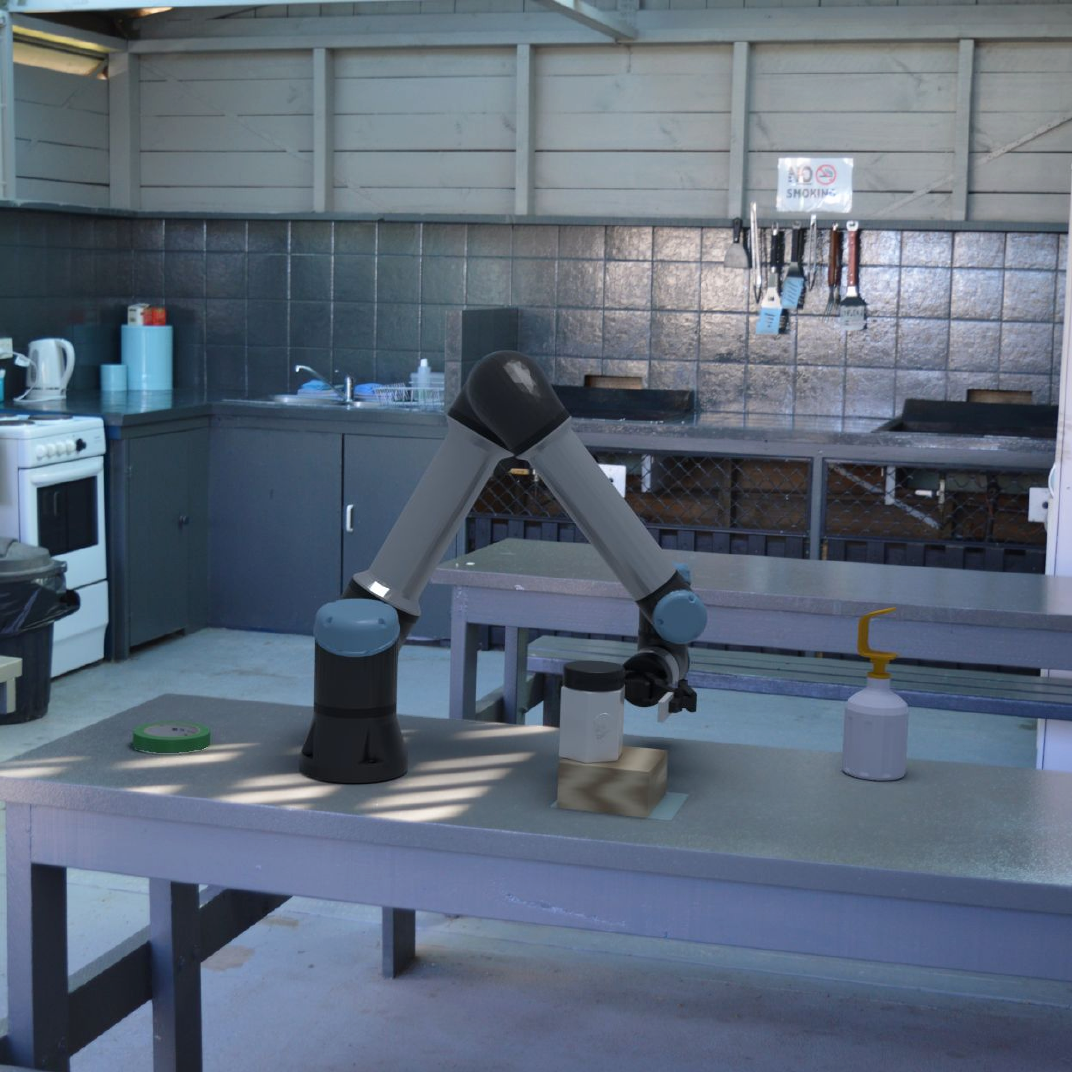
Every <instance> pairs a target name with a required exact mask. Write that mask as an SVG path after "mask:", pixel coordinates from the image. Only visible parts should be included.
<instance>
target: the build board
mask: <svg viewBox="0 0 1072 1072" xmlns="http://www.w3.org/2000/svg"><path fill="white" fill-rule="evenodd" d="M689 795H690V794H689V793H684V792H683V793H682V792H672V791H666V794H665V796H664V797H663V798H662V800H661V801H660V802H659V804H658V805H657V806H656V807H655V809H654V810H653V811H652V813H651V814H650V815H649V817H648V818H647V819H649V820H656V821H657V820H658V821H668V822H671V821H672V820H673V819H674V817H675V815H676V814H677V813H678V811H679V809H681V807H682V806H683V804H684V803H685V801H686V800H687V798H688V797H689ZM549 808H554V809H558V808H557V799H556V800H555V801H554V802H553V803H552V804H551V805H550V806H549ZM561 809H563V810H567V809H566V808H561ZM570 810H573V811H575V810H574V809H570ZM578 811H582V812H584V811H583V810H578ZM588 812H590V813H592V812H591V811H587V813H588ZM596 813H598V814H601V813H600V812H596ZM604 814H606V815H609V814H608V813H604ZM613 815H614V816H618V815H617V814H613ZM621 816H623V817H627V816H626V815H621ZM630 817H632V818H635V817H634V816H630ZM638 818H641V819H644V818H643V817H638Z"/></svg>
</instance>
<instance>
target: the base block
mask: <svg viewBox="0 0 1072 1072" xmlns="http://www.w3.org/2000/svg"><path fill="white" fill-rule="evenodd" d="M668 752H669V750H667V749H659V748H657V749H656V748H648V747H637V746H627V745H623V747H622V754H621V755H620V757H619V759H618V761H616V762H599V763H583V762H579V761H575V760H571V759H567V758H563V757H562V759H560V761H558V766H557V767H558V771H557V772H558V773H557V797H556V800H557V808H556V809H562V808H566V809H565V810H571V809H574V810H573V811H579V810H583V811H582V812H588V811H591V812H590V813H597V812H600V813H599V814H605V813H608V814H607V815H614V814H617V815H616V816H622V815H626V816H625V817H631V816H634V817H633V818H639V817H643V818H642V819H648V817H649V815H650V814H651V813H652V811H653V810H654V809H655V807H656V806H657V805H658V804H659V802H660V801H661V800H662V798H663V797H664V796H665V794H666V792H667V780H668V779H667V776H668V758H669V757H668V754H669V753H668Z"/></svg>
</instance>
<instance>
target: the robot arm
mask: <svg viewBox="0 0 1072 1072" xmlns="http://www.w3.org/2000/svg"><path fill="white" fill-rule="evenodd" d="M445 418H446V421H447V426H448V433H447V434H446V436H445V438H444V439H443V441H442V443H441V445H440V446H439V447H438V450H437V451H436V453H435V454H434V456H433V459H432V460H431V462H430V463H429V465H428V466H427V468H426V470H425V471H424V473H423V475H422V477H421V479H420V480H419V483H417V486H416V487H415V489H414V491H413V493H411V496H410V498H409V499H408V501H407V502H406V504H405V506H404V508H403V509H402V510H401V513H400V515H399V516H398V518H397V520H396V521H395V523H394V525H393V527H392V528H391V531H390V532H389V534H388V535H387V537H386V538H385V541H384V543H382V546H381V548H380V549H379V551H378V552H377V555H376V556H375V558H374V560H373V561H372V562H371V564H370V567H369V568H368V569H367V570H364V571H361V572H357V573H354V574H353V575H352V577H351V578H350V580H349V583H348V584H347V585H346V587H345V589H344V591H343V592H342V594H341V596H340V597H339V599H338V600H337V599H336V600H334V601H333V602H327V603H326V604H323V605H322V606H321V607H320V608H319V609H318V610H317V611H316V614H315V621H314V625H313V635H314V661H313V663H314V665H313V667H314V671H313V709H312V710H313V712H312V713H313V715H312V718H311V721H310V725H309V727H308V730H307V734H306V736H305V738H304V739H305V740H304V742H303V745H302V748H301V750H300V753H299V771H300V772H301V774H303V775H305V776H306V777H309V778H312V779H315V780H318V781H324V782H330V783H342V784H363V783H364V784H365V783H376V782H383V781H388V780H393V779H396V778H399V777H401V776H403V775H405V774H406V773H407V771H408V769H409V768H408V765H409V762H408V761H409V755H408V750H407V748H406V743H405V740H404V737H403V734H402V731H401V727H400V724H399V720H398V717H397V716H398V715H397V708H398V707H397V704H398V703H397V702H398V667H399V666H398V664H399V654H400V651H401V649H402V647H403V646H404V644H405V642H406V640H407V638H408V637H409V635H410V634H411V632H412V630H413V628H414V626H415V625H416V623H417V622H418V620H419V619H420V616H421V615H422V610H421V606H420V604H419V600H420V599H419V598H420V596H421V595H422V593H423V591H424V589H425V588H426V586H427V585H428V583H429V581H430V580H431V578H432V576H433V575H434V572H435V571H436V569H437V568H438V566H439V564H440V563H441V560H442V559H443V558H444V555H445V554H446V553H447V551H448V549H449V547H450V545H451V544H452V542H453V540H454V538H455V537H456V535H457V533H458V532H459V530H460V528H461V526H462V525H463V523H464V521H465V519H466V518H467V516H468V514H469V513H470V511H471V509H472V508H473V506H474V505H475V502H476V501H477V499H478V498H479V496H480V495H481V492H482V490H483V489H484V488H485V485H486V484H487V483H488V481H489V479H490V477H491V475H492V473H493V472H494V471H495V469H496V467H497V465H498V463H499V462H500V461H501V460H504V459H508V458H511V457H515V458H516V460H517V459H518V460H523V461H527V462H528V463H529V465H530V466H531V467H532V469H533V470H534V472H536V474H537V475H538V476H539V478H540V479H541V480H542V482H543V483H544V484H545V486H546V487H547V488H548V490H549V491H550V492H551V493H552V494H553V496H554V498H555V499H556V500H557V501H558V503H559V504H560V505H561V507H562V508H563V509H564V511H565V512H566V513H567V514H568V516H569V517H570V518H571V520H572V521H573V522H574V524H575V526H577V528H578V529H579V530H580V531H581V533H582V534H583V535H584V536H585V538H586V540H587V541H588V542H589V544H590V545H591V546H592V547H593V548H594V550H595V551H596V552H597V554H598V555H599V556H600V558H601V559H602V560H603V561H604V563H605V564H606V565H607V567H608V568H609V570H610V571H611V572H612V573H613V575H614V576H615V577H616V579H617V580H618V582H620V584H621V585H622V586H623V588H624V589H625V590H626V592H627V593H628V594H629V596H630V597H631V598H632V599H633V601H634V602H635V604H636V605H637V607H638V631H637V647H636V649H637V652H635V653H634V654H633V655H631V657H630V658H628V659H627V660H626V661H625V662H624V663H623V664H622V666H623V667H624V668H625V679H624V680H625V681H624V685H625V697H624V700H625V701H627V703H629V704H631V705H632V706H635V707H638V708H650V707H651V708H652V707H654V706H656V705H657V721H656V722H657V723H664V722H665V721H667V719H668V718H669V717H670V716H671V715H672V714H677V713H680V712H683V709H685V710H686V711H687V712H689V713H696V712H697V709H698V708H697V707H698V693H697V692H696V691H695V690H694V688H692V687H691V686H690V685H689V680H688V679H686V677H687V674H689V672H690V669H691V664H692V656H691V655H692V654H691V652H690V650H689V648H688V644H689V643H692V642H694V641H695V640H697V639H698V638H700V636H701V635H702V634H703V633H704V631H705V629H706V627H707V623H708V612H707V608H706V604H705V603H704V601H703V600H702V599H701V597H700V596H699V595H698V594H697V593H695V591H694V590H693V589H692V588H691V585H692V581H691V569H690V567H689V565H688V564H686V563H684V562H679V561H671V559H670V558H669V557H668V556H667V554H666V553H665V552H664V550H663V549H662V547H661V546H660V545H659V544H658V542H657V541H656V540H655V538H654V537H653V535H652V534H651V532H649V530H648V529H647V528H646V525H644V523H643V522H642V521H641V519H640V518H639V517H638V516H637V514H636V513H635V511H634V510H633V509H632V507H630V505H629V503H627V501H626V500H625V498H624V497H623V496H622V494H621V493H620V491H619V490H618V489H617V487H616V486H615V485H614V484H613V482H612V480H611V479H610V478H609V477H608V475H607V474H606V473H605V471H604V470H603V469H602V468H601V466H600V465H599V464H598V462H597V461H596V460H595V458H594V456H593V455H592V454H591V453H590V452H589V451H588V449H587V448H586V446H585V445H584V444H583V442H582V441H581V439H579V437H578V436H577V434H576V433H575V431H574V430H573V429H572V427H571V425H572V415H571V414H570V413H569V411H568V410H567V409H566V407H565V406H564V405H563V403H562V402H561V400H560V398H559V397H558V395H557V394H556V391H555V390H554V389H553V386H552V384H551V383H550V381H549V378H548V377H547V375H546V373H545V371H544V369H543V367H542V366H541V365H540V364H539V363H538V362H537V361H536V360H535V359H534V358H532V357H531V356H530V355H527V354H525V353H524V352H521V351H517V350H509V349H508V350H507V349H506V350H505V349H504V350H503V349H502V350H498V351H494V352H491V353H489V354H487V355H485V356H482V357H481V359H479V360H478V361H476V363H475V364H474V365H473V367H472V368H471V369H470V371H469V373H468V375H467V377H466V381H465V383H464V385H463V386H462V388H461V389H460V390H459V393H458V395H457V396H456V398H455V400H454V402H453V403H452V405H451V407H450V408H449V410H448V412H447V414H446V416H445ZM562 686H563V679H561V680H558V693H557V694H558V696H557V697H558V698H557V699H559V700H561V687H562Z"/></svg>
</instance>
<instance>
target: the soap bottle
mask: <svg viewBox="0 0 1072 1072" xmlns="http://www.w3.org/2000/svg"><path fill="white" fill-rule="evenodd" d="M897 610H898V608H897V607H894V606H893V607H890V608H884V609H880V610H874V611H872V612H869V613H867V614H865V615H863V616H862V617H861V618H859V621H858V629H857V654H858V655H860V656H861V657H864V658H869V662H870V663H871V664H873V667H872V668H873V669H872V670H870V671H867V675H866V686H865V687H864V688H863V689H862V690H859V691H857V692H855V693H854V694H853V695H851V696H850V697H849V698H848V699H847V700H846V703H845V706H844V718H843V736H842V755H841V770H842V771H843V772H844V773H845V774H846V775H848V774H849V776H850V775H851V777H853V776H854V777H853V778H856V777H857V779H860V780H866V781H874V780H876V781H878V782H887V781H895V780H899V779H902V778H903V777H904V776H905V774H906V769H907V768H906V765H907V753H908V752H907V751H908V735H909V734H908V733H909V732H908V731H909V717H910V709H909V705H908V704H907V702H906V701H905V700H903V698H902V697H901V696H899V695H898V694H897V693H895V692H894V691H892V689H891V673H890V672H887V671H886V665H888V664H890V660H891V661H893V660H895V659H897V658H898V657H899V653H898V652H891V651H890V652H889V651H883V650H875V649H871V648H870V646H869V632H870V631H869V630H870V629H869V628H870V621H871V619H872V618H873V617H875V616H880V615H886V614H889V613H893V612H895V611H897Z"/></svg>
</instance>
